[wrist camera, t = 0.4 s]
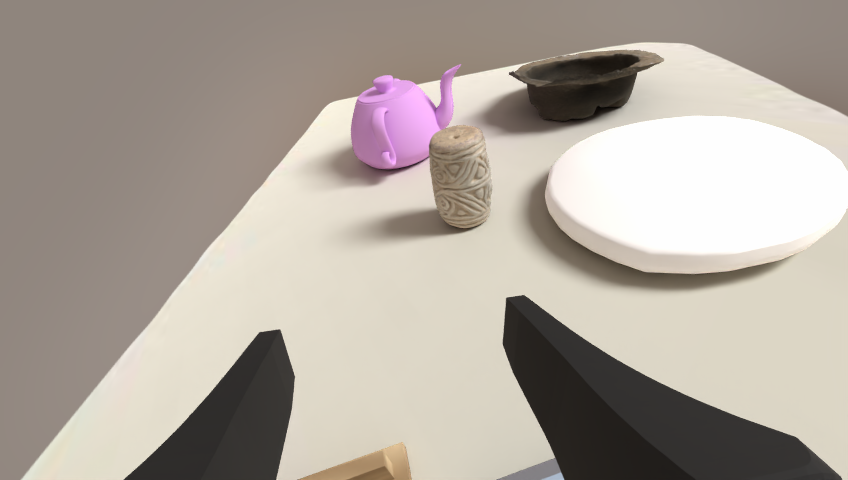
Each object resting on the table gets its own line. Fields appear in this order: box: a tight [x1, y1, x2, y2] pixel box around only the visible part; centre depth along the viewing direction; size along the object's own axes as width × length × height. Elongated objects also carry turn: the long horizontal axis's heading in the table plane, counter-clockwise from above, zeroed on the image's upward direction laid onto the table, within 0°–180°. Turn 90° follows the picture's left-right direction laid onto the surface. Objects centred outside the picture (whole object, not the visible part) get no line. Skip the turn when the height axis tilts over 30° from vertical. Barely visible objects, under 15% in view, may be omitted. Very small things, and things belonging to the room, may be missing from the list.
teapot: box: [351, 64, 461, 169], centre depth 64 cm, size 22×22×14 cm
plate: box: [545, 116, 848, 274], centre depth 41 cm, size 28×6×27 cm
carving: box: [429, 125, 492, 228], centre depth 45 cm, size 6×8×12 cm
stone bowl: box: [509, 50, 664, 121], centre depth 66 cm, size 25×25×9 cm
